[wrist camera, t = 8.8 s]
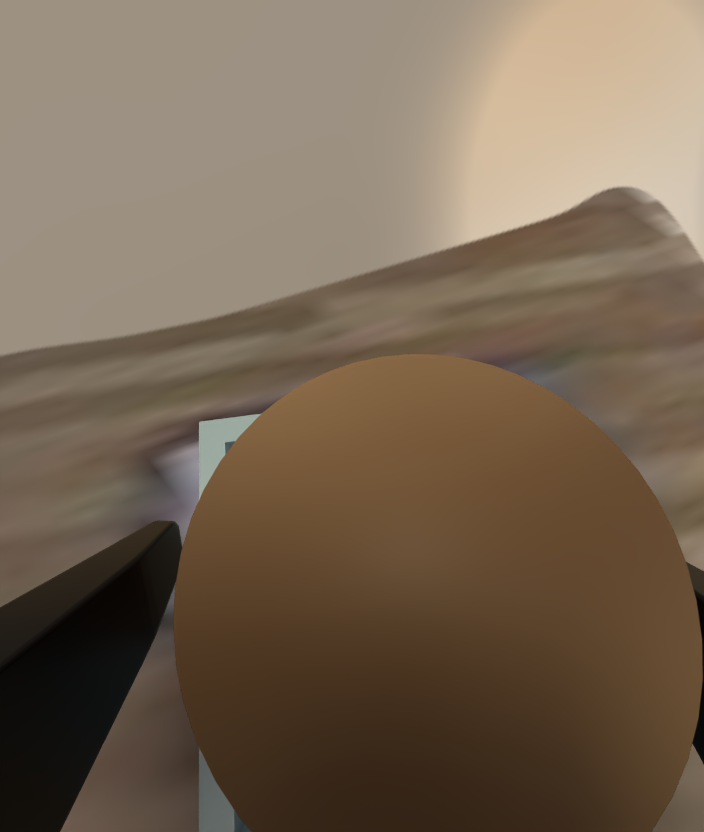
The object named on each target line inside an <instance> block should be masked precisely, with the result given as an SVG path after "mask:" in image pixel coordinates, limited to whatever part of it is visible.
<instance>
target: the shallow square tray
mask: <svg viewBox="0 0 704 832" xmlns="http://www.w3.org/2000/svg"><path fill="white" fill-rule="evenodd" d="M260 415H261V414H257V415H249V416H241V417H234V418H226V419H218V420H210V421H203V422H199V499H200V497H201V495H202V492H203V490H204V488H205V486H206V485H207V483H208V481H209V480H210V478H211V476H212V474H213V473H214V471H215V469H216V468H217V466H218V464H219V462H220V461H221V460H222V458H223V457H224V456H225V454H226V453H227V452H228V450H229V449H230V448H231V446H232V445H233V444H234V442H235V441H236V440H237V438H238V437H239V436H240V435H241V434H242V433H243V432H244V431H245V430H246V429H247V428H248V427H249V426H250V425H251V424H252V423H253V422H254V421H255V420H256V419H257V417H258V416H260ZM199 832H251V831H250V829H249V828H248V827H247V826H246V825H245V824H244V823H243V821H242V820H241V819H240V818H239V816H238V815H237V813H236V812H235V810H234V809H233V807H232V806H231V804H230V803H229V801H228V800H227V798H226V797H225V795H224V794H223V792H222V791H221V789H220V788H219V786H218V785H217V783H216V781H215V779H214V777H213V775H212V773H211V771H210V769H209V767H208V765H207V763H206V761H205V759H204V757H203V754H202V752H201V750H200V748H199Z"/></svg>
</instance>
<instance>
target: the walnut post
mask: <svg viewBox="0 0 704 832" xmlns="http://www.w3.org/2000/svg"><path fill="white" fill-rule="evenodd" d="M173 629H174V643H175V656H176V666H177V671H178V676H179V681H180V686H181V691H182V697H183V702H184V705H185V708H186V711H187V714H188V717H189V720H190V723H191V726H192V729H193V732H194V735H195V738H196V741H197V744H198V746H199V748H200V750H201V752H202V754H203V757H204V759H205V761H206V763H207V765H208V767H209V769H210V771H211V773H212V775H213V777H214V779H215V781H216V783H217V785H218V786H219V788H220V789H221V791H222V792H223V794H224V795H225V797H226V798H227V800H228V801H229V803H230V804H231V806H232V807H233V809H234V810H235V812H236V813H237V815H238V816H239V818H240V819H241V820H242V821H243V823H244V824H245V825H246V826H247V827H248V828H249V829H250V831H251V832H652V830H653V828H654V827H655V825H656V823H657V822H658V820H659V818H660V817H661V815H662V814H663V812H664V810H665V809H666V807H667V805H668V804H669V802H670V800H671V799H672V797H673V795H674V792H675V790H676V787H677V785H678V783H679V780H680V778H681V775H682V773H683V770H684V768H685V766H686V763H687V761H688V758H689V754H690V750H691V746H692V742H693V738H694V734H695V730H696V726H697V722H698V717H699V708H700V699H701V690H702V681H703V666H702V636H701V629H700V622H699V615H698V608H697V601H696V597H695V593H694V589H693V586H692V582H691V578H690V574H689V570H688V567H687V564H686V561H685V558H684V556H683V553H682V551H681V548H680V545H679V543H678V540H677V538H676V535H675V533H674V530H673V528H672V526H671V524H670V523H669V521H668V519H667V517H666V515H665V513H664V511H663V509H662V507H661V505H660V503H659V501H658V500H657V498H656V496H655V495H654V493H653V492H652V490H651V489H650V487H649V486H648V484H647V483H646V481H645V480H644V478H643V477H642V475H641V474H640V472H639V471H638V470H637V469H636V467H635V466H634V465H633V464H632V463H631V461H630V460H629V459H628V458H627V456H626V455H625V454H624V453H623V452H622V450H621V449H620V448H619V447H618V446H617V445H616V444H615V443H614V442H613V441H612V440H611V439H610V438H609V437H608V436H607V435H606V434H605V433H604V432H603V431H602V430H601V429H600V428H599V427H598V426H597V425H596V424H595V423H594V422H592V421H591V420H590V419H589V418H587V417H586V416H585V415H584V414H582V413H581V412H580V411H578V410H577V409H576V408H575V407H573V406H572V405H571V404H570V403H568V402H566V401H565V400H563V399H562V398H560V397H558V396H557V395H555V394H554V393H552V392H551V391H549V390H547V389H546V388H544V387H542V386H540V385H538V384H536V383H534V382H532V381H530V380H528V379H526V378H524V377H522V376H520V375H518V374H515V373H512V372H509V371H507V370H504V369H501V368H498V367H496V366H493V365H490V364H486V363H482V362H477V361H473V360H469V359H465V358H459V357H451V356H444V355H434V354H404V355H394V356H383V357H378V358H373V359H369V360H364V361H359V362H355V363H352V364H349V365H346V366H343V367H340V368H337V369H334V370H331V371H329V372H327V373H325V374H322V375H320V376H318V377H316V378H314V379H312V380H310V381H308V382H306V383H304V384H302V385H301V386H299V387H298V388H296V389H294V390H293V391H291V392H290V393H288V394H287V395H285V396H283V397H282V398H280V399H279V400H278V401H277V402H276V403H274V404H273V405H272V406H271V407H269V408H268V409H267V410H266V411H264V412H263V413H262V414H261V415H260V416H258V417H257V419H256V420H255V421H254V422H253V423H252V424H251V425H250V426H249V427H248V428H247V429H246V430H245V431H244V432H243V433H242V434H241V435H240V436H239V437H238V438H237V440H236V441H235V442H234V444H233V445H232V446H231V448H230V449H229V450H228V452H227V453H226V454H225V456H224V457H223V458H222V460H221V461H220V462H219V464H218V466H217V468H216V469H215V471H214V473H213V474H212V476H211V478H210V480H209V481H208V483H207V485H206V486H205V488H204V490H203V492H202V495H201V497H200V499H199V502H198V504H197V506H196V509H195V511H194V513H193V516H192V518H191V521H190V524H189V527H188V531H187V534H186V537H185V541H184V544H183V548H182V551H181V556H180V562H179V567H178V573H177V579H176V585H175V599H174V619H173Z"/></svg>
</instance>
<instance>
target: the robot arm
mask: <svg viewBox="0 0 704 832" xmlns="http://www.w3.org/2000/svg"><path fill="white" fill-rule="evenodd" d="M181 551H182V543H181V536H180V530H179V526H178V524H177V523H176V522H175V521H154V522H152V523H151V524H149V525H147V526H145V527H143V528H142V529H140V530H138V531H136V532H135V533H133V534H131V535H129V536H127V537H126V538H124V539H122V540H120V541H118V542H117V543H115V544H113V545H111V546H109V547H108V548H106V549H104V550H102V551H100V552H99V553H97V554H95V555H93V556H92V557H90V558H88V559H86V560H84V561H83V562H81V563H79V564H77V565H75V566H74V567H72V568H70V569H68V570H66V571H65V572H63V573H61V574H59V575H57V576H56V577H54V578H52V579H50V580H48V581H47V582H45V583H43V584H41V585H39V586H38V587H36V588H34V589H32V590H30V591H29V592H27V593H25V594H23V595H22V596H20V597H18V598H16V599H14V600H13V601H11V602H9V603H7V604H5V605H4V606H2V607H0V832H60V831H61V829H62V827H63V825H64V823H65V821H66V819H67V817H68V815H69V813H70V811H71V808H72V806H73V804H74V802H75V800H76V798H77V796H78V794H79V792H80V790H81V788H82V786H83V784H84V782H85V780H86V778H87V776H88V774H89V772H90V770H91V768H92V766H93V764H94V762H95V760H96V757H97V755H98V753H99V751H100V749H101V747H102V745H103V743H104V741H105V739H106V737H107V735H108V733H109V731H110V729H111V727H112V725H113V723H114V721H115V719H116V717H117V715H118V713H119V711H120V709H121V706H122V704H123V702H124V700H125V698H126V696H127V694H128V692H129V690H130V688H131V686H132V684H133V682H134V680H135V678H136V676H137V674H138V672H139V670H140V668H141V666H142V664H143V662H144V660H145V658H146V655H147V653H148V651H149V649H150V647H151V645H152V643H153V641H154V639H155V636H156V634H157V631H158V629H159V626H160V624H161V621H162V618H163V615H164V613H165V610H166V607H167V605H168V602H169V599H170V596H171V594H172V591H173V588H174V585H175V583H176V579H177V573H178V567H179V562H180V556H181ZM686 564H687V567H688V570H689V574H690V578H691V582H692V586H693V589H694V593H695V597H696V601H697V608H698V615H699V622H700V629H701V636H702V666H703V681H702V690H701V699H700V708H699V717H698V722H697V726H696V730H695V734H694V738H693V742H692V743H693V745H694V747H695V749H696V751H697V753H698V754H699V756H700V758H701V760H702V762H703V764H704V571H702V570H700V569H698V568H696V567H695V566H693V565H691V564H689V563H687V562H686Z"/></svg>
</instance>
